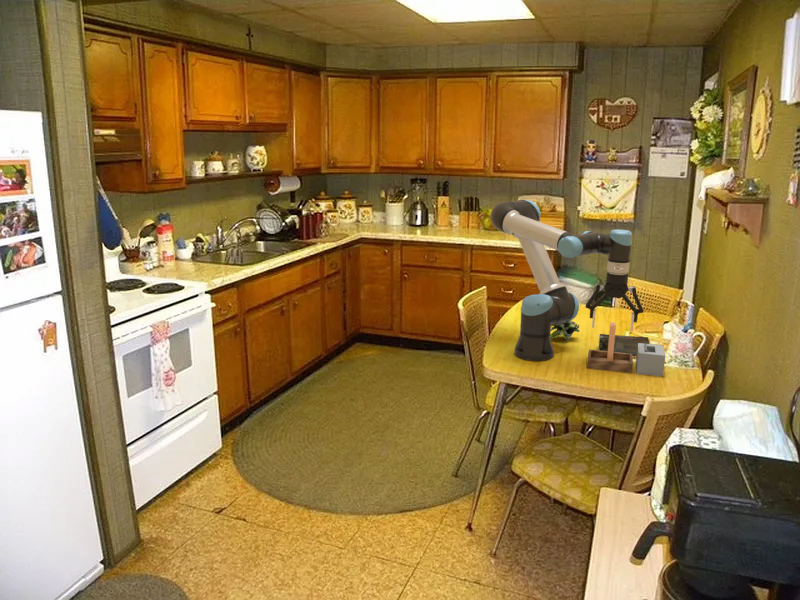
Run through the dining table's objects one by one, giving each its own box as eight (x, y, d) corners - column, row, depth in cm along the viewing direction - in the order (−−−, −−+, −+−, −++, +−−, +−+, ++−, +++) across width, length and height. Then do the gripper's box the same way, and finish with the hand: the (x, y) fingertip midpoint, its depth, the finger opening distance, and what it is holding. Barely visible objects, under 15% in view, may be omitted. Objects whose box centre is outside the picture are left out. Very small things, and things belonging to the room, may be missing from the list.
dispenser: (636, 373, 235) (638, 351, 233) (635, 362, 246) (637, 341, 244) (663, 376, 232) (665, 354, 230) (661, 365, 243) (663, 343, 241)
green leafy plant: (563, 349, 278) (580, 326, 277) (570, 353, 267) (587, 329, 266) (542, 334, 277) (558, 311, 277) (548, 337, 266) (565, 313, 266)
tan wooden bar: (606, 365, 241) (610, 326, 237) (607, 360, 246) (610, 322, 242) (612, 365, 240) (615, 327, 236) (612, 360, 246) (615, 322, 242)
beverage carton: (598, 346, 265) (599, 331, 263) (647, 351, 260) (649, 335, 258) (598, 353, 258) (599, 337, 256) (649, 357, 252) (650, 341, 251)
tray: (586, 368, 240) (587, 359, 239) (588, 357, 251) (588, 349, 250) (632, 373, 235) (633, 364, 235) (631, 362, 246) (632, 353, 246)
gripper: (581, 272, 235) (576, 327, 240) (654, 277, 227) (648, 335, 233) (582, 268, 242) (578, 322, 247) (653, 273, 234) (647, 329, 240)
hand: (612, 328), depth 240 cm, fingers open, 13 cm apart
